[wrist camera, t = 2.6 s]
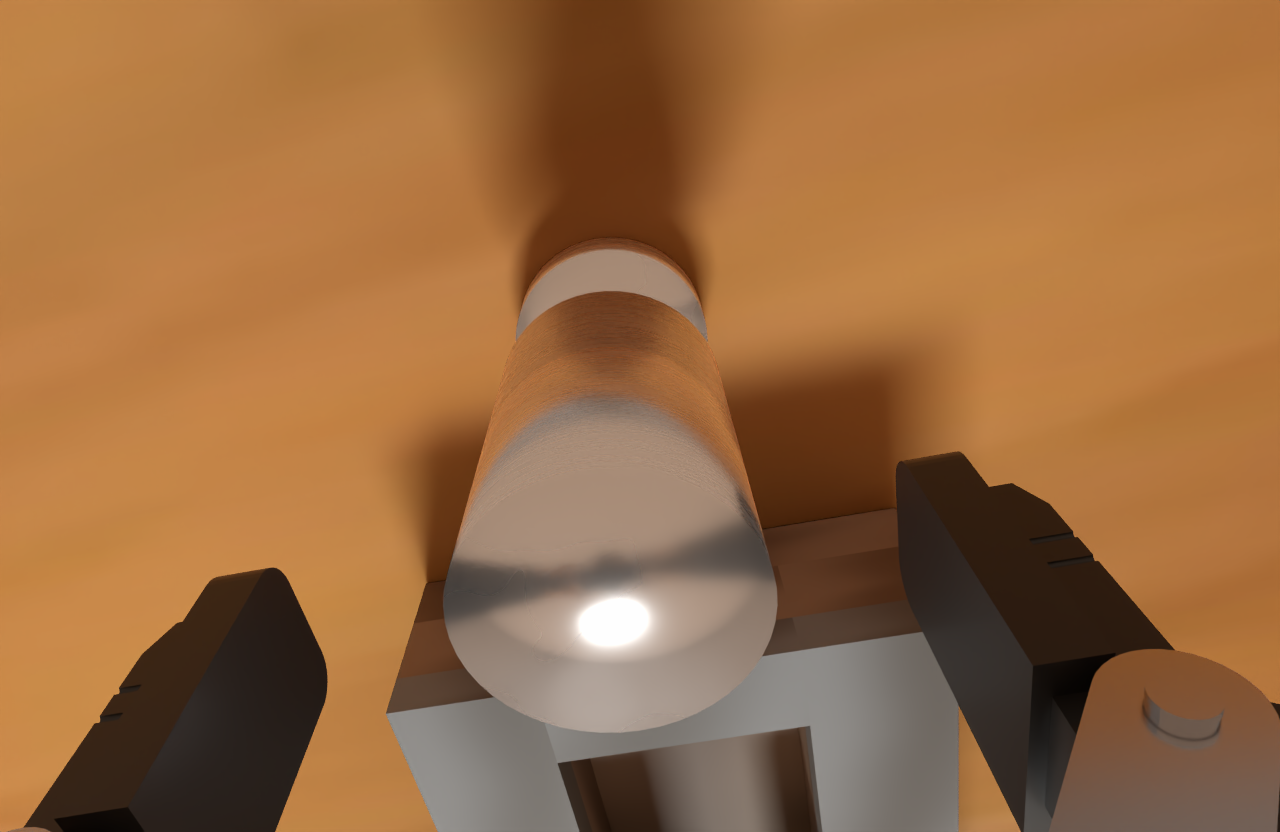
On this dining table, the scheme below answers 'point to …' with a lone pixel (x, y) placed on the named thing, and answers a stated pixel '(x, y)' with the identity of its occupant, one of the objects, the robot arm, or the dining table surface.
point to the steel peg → (610, 508)
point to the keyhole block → (716, 720)
